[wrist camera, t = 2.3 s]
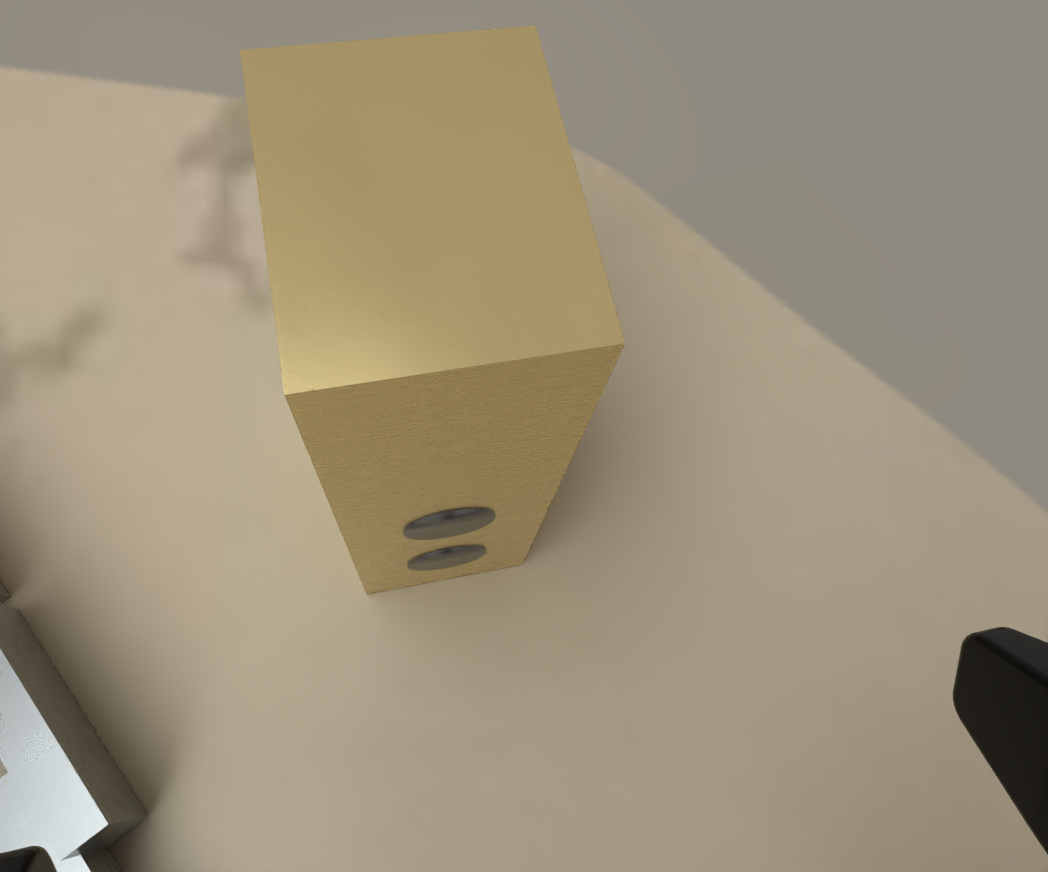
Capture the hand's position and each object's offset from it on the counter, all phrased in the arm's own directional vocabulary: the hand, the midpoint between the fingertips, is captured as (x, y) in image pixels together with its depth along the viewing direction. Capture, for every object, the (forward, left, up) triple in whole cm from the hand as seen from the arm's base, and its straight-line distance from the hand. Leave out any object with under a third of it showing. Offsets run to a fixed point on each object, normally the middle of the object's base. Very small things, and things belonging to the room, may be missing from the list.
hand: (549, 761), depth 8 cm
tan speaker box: (+7, -1, -13) cm, 14 cm away
